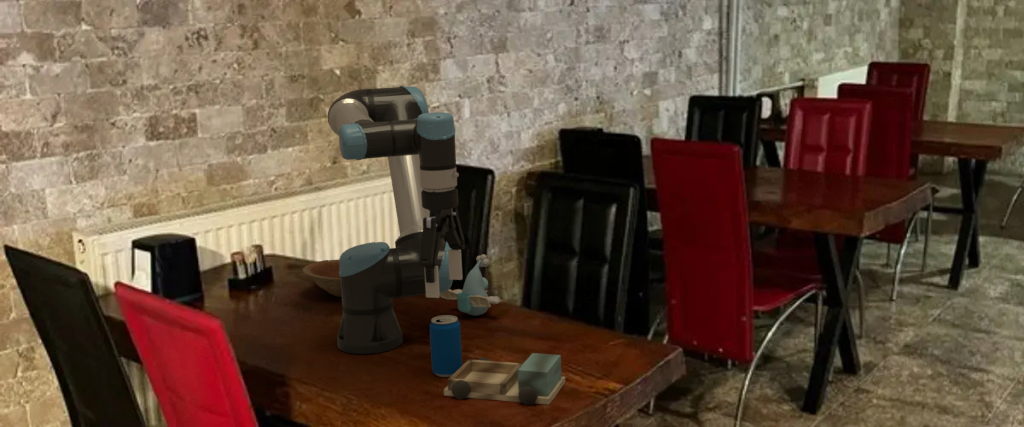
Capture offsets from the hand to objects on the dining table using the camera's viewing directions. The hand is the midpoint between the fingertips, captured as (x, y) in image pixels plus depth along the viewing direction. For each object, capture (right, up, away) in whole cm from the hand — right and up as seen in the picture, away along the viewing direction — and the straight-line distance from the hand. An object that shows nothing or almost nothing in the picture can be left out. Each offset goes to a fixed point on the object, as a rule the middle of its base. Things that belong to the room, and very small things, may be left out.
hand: (444, 288), depth 209 cm
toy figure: (+5, -10, +43) cm, 45 cm away
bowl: (-31, -7, +67) cm, 75 cm away
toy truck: (+13, -20, -7) cm, 25 cm away
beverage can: (0, -19, +4) cm, 19 cm away
